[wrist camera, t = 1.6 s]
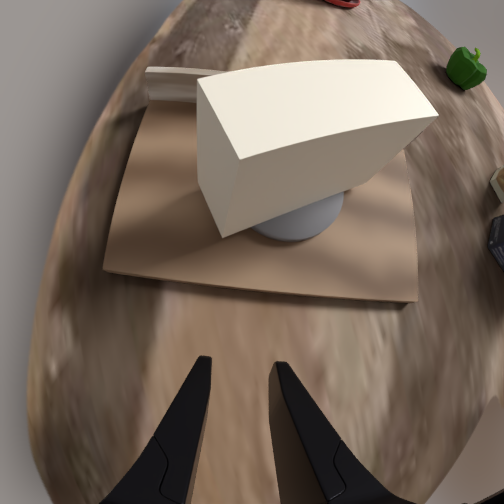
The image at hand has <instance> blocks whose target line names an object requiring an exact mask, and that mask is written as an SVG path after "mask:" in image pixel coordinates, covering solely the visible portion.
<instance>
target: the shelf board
mask: <svg viewBox="0 0 504 504" xmlns="http://www.w3.org/2000/svg"><path fill="white" fill-rule="evenodd" d="M221 73H226V72H224V71H215V70H205V69H193V68H176V67H147V69H146V71H145V74H146V80H147V86H148V92H149V97H150V101H149V104H148V106H147V109H146V111H145V114H144V116H143V119H142V122H141V124H140V127H139V130H138V133H137V136H136V138H135V141H134V144H133V147H132V150H131V153H130V157H129V160H128V163H127V166H126V169H125V173H124V176H123V180H122V183H121V187H120V190H119V194H118V198H117V202H116V206H115V210H114V214H113V218H112V222H111V227H110V231H109V236H108V241H107V246H106V251H105V256H104V262H103V268H102V269H103V270H105V271H107V272H109V273H116V274H122V275H129V276H136V277H143V278H150V279H157V280H164V281H171V282H179V283H187V284H195V285H203V286H211V287H219V288H228V289H237V290H246V291H256V292H266V293H276V294H286V295H297V296H309V297H321V298H334V299H348V300H362V301H378V302H396V303H413V302H418V263H417V245H416V232H415V221H414V211H413V203H412V195H411V188H410V182H409V176H408V170H407V164H406V159H405V153H404V149H405V148H406V147H407V146H408V145H409V144H410V143H411V142H412V141H413V140H414V139H415V138H417V137H418V136H419V135H420V134H421V133H422V132H423V131H422V132H421V133H420V134H419V135H418V136H416V137H415V138H414V139H413V140H412V141H411V142H410V143H409V144H408V145H407V146H406V147H405V148H403V149H402V150H401V151H400V152H399V153H398V154H397V155H396V156H395V157H394V158H393V159H391V160H390V161H389V162H388V163H387V164H386V165H385V166H384V167H383V168H382V169H380V170H379V171H378V172H377V173H376V174H375V175H374V176H373V177H372V178H371V179H369V180H368V181H367V182H366V183H365V184H362V185H359V186H357V187H354V188H351V189H348V190H346V191H344V198H343V204H342V207H341V210H340V212H339V214H338V216H337V218H336V219H335V221H334V222H333V223H332V224H331V225H330V226H329V227H328V228H327V229H325V230H324V231H323V232H321V233H320V234H319V235H317V236H315V237H313V238H310V239H307V240H304V241H299V242H284V241H278V240H274V239H271V238H268V237H266V236H264V235H261V234H259V233H258V232H256V231H255V230H253V229H252V228H251V227H249V228H247V229H244V230H242V231H239V232H237V233H234V234H232V235H229V236H227V237H224V238H222V236H221V234H220V232H219V229H218V227H217V225H216V223H215V220H214V218H213V216H212V213H211V211H210V209H209V207H208V204H207V202H206V200H205V197H204V195H203V193H202V191H201V188H200V186H199V184H198V173H197V79H199V78H204V77H208V76H212V75H217V74H221Z"/></svg>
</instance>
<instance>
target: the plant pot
mask: <svg viewBox="0 0 504 504" xmlns="http://www.w3.org/2000/svg"><path fill="white" fill-rule="evenodd" d="M325 1H327V2H329V3H332V4H334V5H336V6H338V5H339V6H343V7H356V6H358V5H359V4H360V0H325Z"/></svg>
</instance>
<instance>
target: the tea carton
mask: <svg viewBox="0 0 504 504" xmlns="http://www.w3.org/2000/svg"><path fill="white" fill-rule="evenodd" d="M438 116H439V115H438V113H437V112H436V111H435V109H434V108H433V106H432V105H431V104H430V102H429V101H428V100H427V98H426V97H425V96H424V94H423V93H422V92H421V91H420V89H419V88H418V87H417V86H416V84H415V83H414V82H413V81H412V79H411V78H410V77H409V76H408V75H407V74H406V72H405V71H404V70H403V69H402V68H401V67H400V66H399V64H398V63H397V62H396V61H387V60H320V61H305V62H293V63H284V64H275V65H268V66H261V67H254V68H248V69H242V70H237V71H231V72H226V73H221V74H217V75H212V76H208V77H204V78H199V79H197V173H198V184H199V186H200V188H201V191H202V193H203V195H204V197H205V200H206V202H207V204H208V207H209V209H210V211H211V213H212V216H213V218H214V220H215V223H216V225H217V227H218V229H219V232H220V234H221V236H222V238H224V237H227V236H229V235H232V234H234V233H237V232H239V231H242V230H244V229H247V228H249V227H251V228H252V229H253V230H255V231H256V232H258V233H259V234H261V235H264V236H266V237H268V238H271V239H274V240H278V241H284V242H299V241H304V240H307V239H310V238H313V237H315V236H317V235H319V234H320V233H321V232H323V231H324V230H325V229H327V228H328V227H329V226H330V225H331V224H332V223H333V222H334V221H335V219H336V218H337V216H338V214H339V212H340V210H341V207H342V204H343V198H344V191H346V190H348V189H351V188H354V187H357V186H359V185H362V184H365V183H366V182H367V181H368V180H369V179H371V178H372V177H373V176H374V175H375V174H376V173H377V172H378V171H379V170H380V169H382V168H383V167H384V166H385V165H386V164H387V163H388V162H389V161H390V160H391V159H393V158H394V157H395V156H396V155H397V154H398V153H399V152H400V151H401V150H402V149H403V148H405V147H406V146H407V145H408V144H409V143H410V142H411V141H412V140H413V139H414V138H415V137H416V136H418V135H419V134H420V133H421V132H422V131H423V130H424V129H425V128H426V127H427V126H428V125H429V124H430V123H431V122H433V121H434V120H435V119H436V118H437V117H438Z"/></svg>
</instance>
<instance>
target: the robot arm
mask: <svg viewBox="0 0 504 504" xmlns="http://www.w3.org/2000/svg"><path fill="white" fill-rule="evenodd" d="M211 369H212V358H211V357H210V356H199V357H198V359H197V360H196V362H195V364H194V366H193V367H192V369H191V371H190V372H189V374H188V376H187V378H186V379H185V381H184V383H183V385H182V386H181V388H180V390H179V391H178V393H177V395H176V397H175V398H174V400H173V402H172V403H171V405H170V407H169V408H168V410H167V412H166V414H165V415H164V417H163V419H162V420H161V422H160V424H159V426H158V427H157V429H156V431H155V432H154V434H153V435H154V436H152V437H151V439H150V441H149V442H148V444H147V446H146V447H145V449H144V450H143V452H142V453H141V455H140V456H139V458H138V459H137V461H136V462H135V463H134V464H133V466H132V467H131V468H130V470H129V471H128V472H127V473H126V474H125V476H124V477H123V478H122V479H121V480H120V482H119V483H118V484H117V485H116V486H115V487H114V489H113V490H112V491H111V492H110V493H109V494H108V495H107V496H106V497H105V498H104V499H103V500H102V501H101V502H100V503H99V504H191V499H192V494H193V489H194V483H195V478H196V473H197V467H198V462H199V457H200V452H201V446H202V441H203V436H204V431H205V426H206V420H207V414H208V406H209V398H210V390H211ZM269 424H270V431H271V439H272V446H273V453H274V460H275V467H276V474H277V481H278V488H279V495H280V502H281V504H416V503H413V502H410V501H407V500H405V499H402V498H399V497H397V496H395V495H394V494H392V493H391V492H390V491H388V490H387V489H386V488H385V487H384V486H383V485H382V484H381V483H380V482H379V481H378V480H377V479H376V478H375V477H374V476H373V475H372V474H371V473H370V472H369V471H368V470H367V469H366V468H365V467H364V466H363V465H362V464H361V463H360V462H359V460H358V459H357V458H356V457H355V456H354V455H353V453H352V452H351V451H350V450H349V448H348V447H347V446H346V444H345V443H344V441H343V440H341V437H340V436H339V435H338V433H337V432H336V431H335V429H334V428H333V426H332V425H331V424H330V422H329V421H328V420H327V418H326V417H325V415H324V414H323V413H322V411H321V410H320V408H319V407H318V406H317V404H316V403H315V401H314V400H313V398H312V397H311V396H310V394H309V393H308V391H307V390H306V389H305V387H304V386H303V384H302V383H301V381H300V380H299V378H298V377H297V376H296V374H295V373H294V371H293V370H292V368H291V367H290V365H289V364H288V363H287V362H282V361H276V362H275V363H274V364H273V367H272V369H271V372H270V374H269ZM463 504H467V503H463ZM474 504H504V489H502V490H500V491H498V492H496V493H495V494H493V495H491V496H489V497H487V498H485V499H483V500H481V501H479V502H477V503H474Z"/></svg>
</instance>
